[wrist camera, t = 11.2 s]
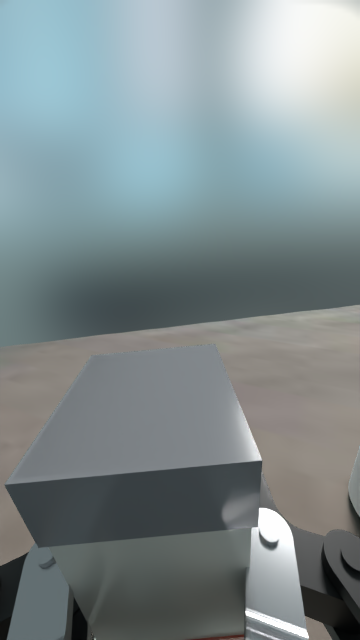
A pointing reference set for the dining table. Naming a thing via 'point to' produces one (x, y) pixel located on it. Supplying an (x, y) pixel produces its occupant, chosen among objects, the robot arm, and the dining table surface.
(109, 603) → the marked fuse
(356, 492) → the can
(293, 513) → the dining table surface
